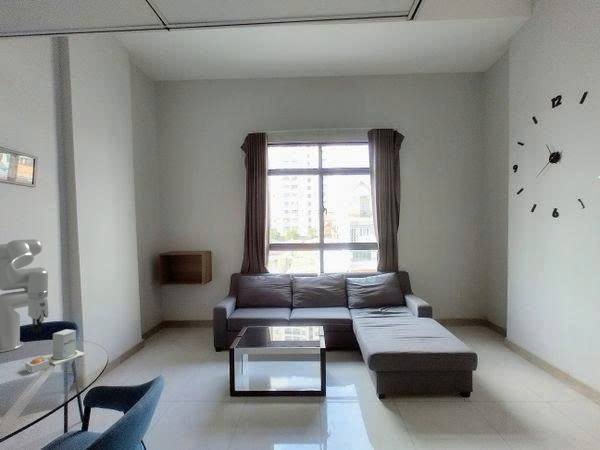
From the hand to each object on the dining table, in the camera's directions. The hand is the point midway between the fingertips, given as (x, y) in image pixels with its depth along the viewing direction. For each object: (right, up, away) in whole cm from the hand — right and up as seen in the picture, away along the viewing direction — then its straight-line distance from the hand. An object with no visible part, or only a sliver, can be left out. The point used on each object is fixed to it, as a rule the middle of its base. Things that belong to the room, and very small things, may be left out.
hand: (37, 331), depth 152 cm
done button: (0, -17, 0) cm, 17 cm away
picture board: (+4, -18, +13) cm, 23 cm away
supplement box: (+3, -18, +13) cm, 22 cm away
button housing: (0, -19, 0) cm, 18 cm away
